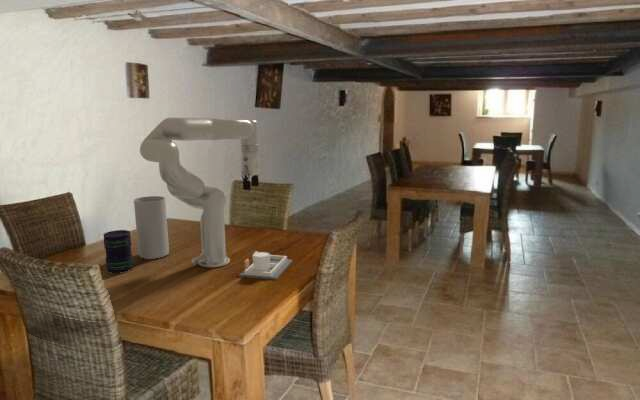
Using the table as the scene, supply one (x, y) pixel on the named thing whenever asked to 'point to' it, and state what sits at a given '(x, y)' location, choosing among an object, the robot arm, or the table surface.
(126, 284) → the table surface
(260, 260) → the shot glass
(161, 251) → the cylinder vase
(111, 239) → the storage jar
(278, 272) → the well board
